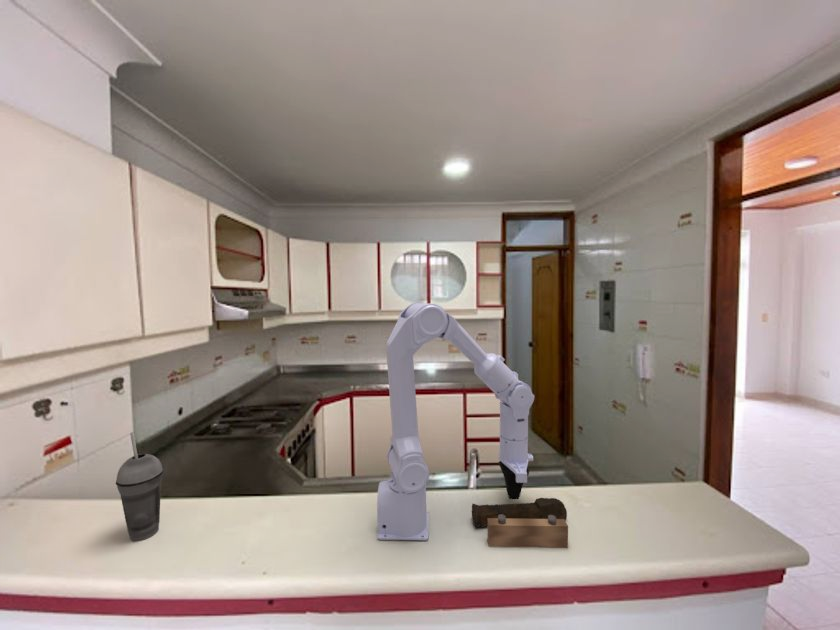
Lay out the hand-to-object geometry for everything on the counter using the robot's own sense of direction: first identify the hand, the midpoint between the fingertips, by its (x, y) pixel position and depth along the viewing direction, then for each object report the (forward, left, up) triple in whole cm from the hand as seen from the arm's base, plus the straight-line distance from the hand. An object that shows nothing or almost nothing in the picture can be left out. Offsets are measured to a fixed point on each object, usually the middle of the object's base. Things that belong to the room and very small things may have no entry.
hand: (513, 497), depth 76 cm
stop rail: (0, -11, -2) cm, 11 cm away
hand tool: (0, -5, -2) cm, 5 cm away
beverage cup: (-73, -10, -2) cm, 74 cm away
